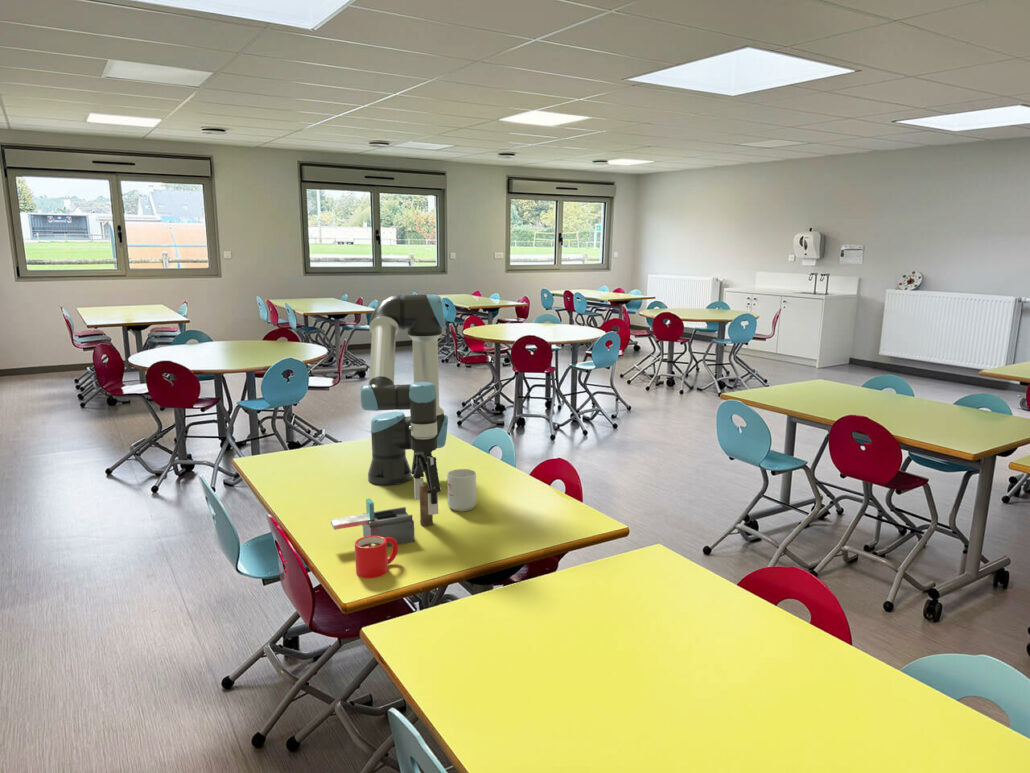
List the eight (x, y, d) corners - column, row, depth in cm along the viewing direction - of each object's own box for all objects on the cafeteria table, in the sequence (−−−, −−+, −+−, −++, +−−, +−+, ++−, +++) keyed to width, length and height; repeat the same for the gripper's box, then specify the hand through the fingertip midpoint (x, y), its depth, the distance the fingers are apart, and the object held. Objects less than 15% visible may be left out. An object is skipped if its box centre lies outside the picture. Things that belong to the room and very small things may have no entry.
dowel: (419, 522, 207) (417, 484, 205) (430, 520, 209) (429, 482, 207) (422, 527, 204) (421, 487, 202) (434, 525, 206) (433, 486, 203)
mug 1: (407, 565, 180) (406, 536, 178) (368, 581, 171) (367, 551, 169) (388, 556, 185) (387, 528, 183) (349, 571, 176) (348, 542, 175)
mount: (363, 536, 198) (362, 511, 196) (404, 528, 203) (403, 505, 201) (371, 549, 189) (370, 524, 188) (414, 541, 194) (413, 517, 192)
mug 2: (481, 508, 219) (481, 474, 217) (457, 514, 214) (457, 479, 212) (461, 497, 228) (460, 464, 226) (437, 503, 223) (436, 470, 221)
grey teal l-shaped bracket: (330, 523, 191) (329, 504, 189) (370, 517, 195) (369, 498, 194) (334, 529, 186) (332, 509, 185) (374, 523, 191) (374, 503, 190)
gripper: (399, 428, 211) (402, 495, 215) (424, 447, 189) (426, 522, 192) (423, 425, 214) (425, 492, 218) (450, 444, 192) (452, 518, 195)
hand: (426, 506), depth 205 cm, fingers open, 13 cm apart
